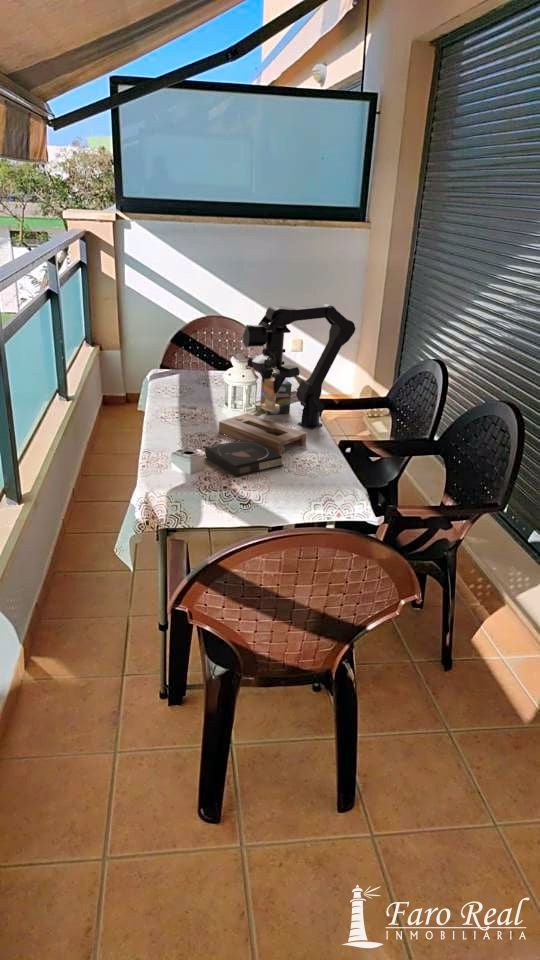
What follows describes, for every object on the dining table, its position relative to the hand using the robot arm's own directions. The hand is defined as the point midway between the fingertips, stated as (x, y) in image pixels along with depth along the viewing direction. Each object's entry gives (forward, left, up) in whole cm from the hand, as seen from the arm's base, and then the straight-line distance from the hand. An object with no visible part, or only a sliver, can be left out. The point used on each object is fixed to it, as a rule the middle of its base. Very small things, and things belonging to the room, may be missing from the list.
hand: (271, 391), depth 227 cm
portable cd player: (+30, +15, -14) cm, 36 cm away
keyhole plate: (+10, +5, -13) cm, 17 cm away
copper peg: (0, 0, -6) cm, 6 cm away
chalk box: (-17, -12, -13) cm, 25 cm away
